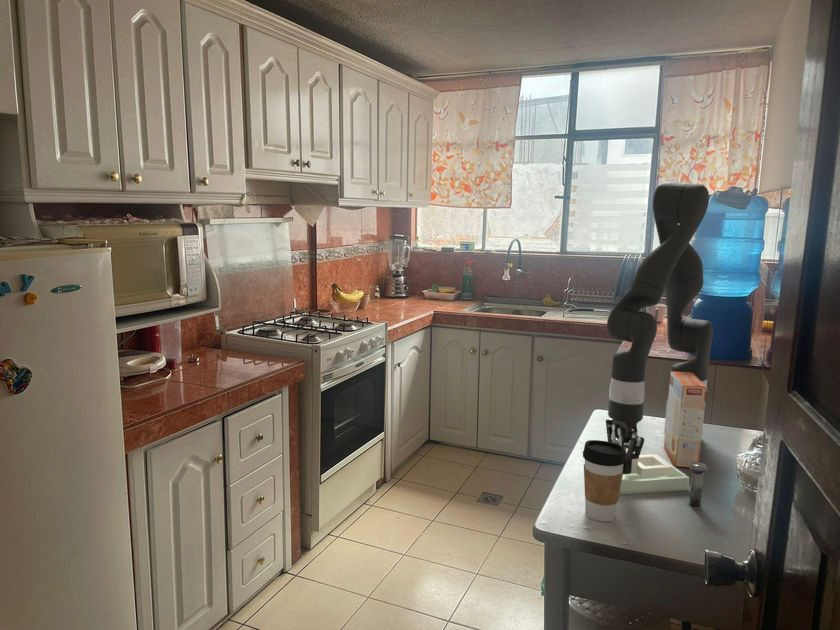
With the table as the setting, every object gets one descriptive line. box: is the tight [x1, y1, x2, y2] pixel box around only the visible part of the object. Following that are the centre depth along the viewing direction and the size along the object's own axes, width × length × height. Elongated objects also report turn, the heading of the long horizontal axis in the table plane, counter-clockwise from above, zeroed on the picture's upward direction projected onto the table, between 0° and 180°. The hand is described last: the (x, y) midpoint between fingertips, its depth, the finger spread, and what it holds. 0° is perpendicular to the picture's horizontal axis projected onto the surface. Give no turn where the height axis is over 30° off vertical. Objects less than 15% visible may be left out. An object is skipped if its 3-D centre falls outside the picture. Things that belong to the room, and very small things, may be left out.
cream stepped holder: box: [626, 448, 673, 477], centre depth 141 cm, size 12×8×5 cm, turn 100°
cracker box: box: [663, 371, 708, 469], centre depth 154 cm, size 14×6×21 cm, turn 168°
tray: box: [619, 455, 690, 496], centre depth 142 cm, size 13×18×3 cm
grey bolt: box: [688, 461, 708, 508], centre depth 130 cm, size 3×3×9 cm
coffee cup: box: [582, 439, 626, 523], centre depth 124 cm, size 8×8×15 cm
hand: (621, 469), depth 141 cm, fingers closed on cream stepped holder, 3 cm apart
